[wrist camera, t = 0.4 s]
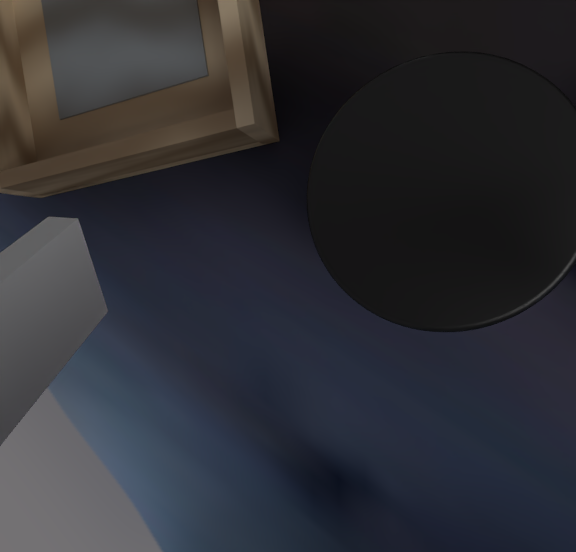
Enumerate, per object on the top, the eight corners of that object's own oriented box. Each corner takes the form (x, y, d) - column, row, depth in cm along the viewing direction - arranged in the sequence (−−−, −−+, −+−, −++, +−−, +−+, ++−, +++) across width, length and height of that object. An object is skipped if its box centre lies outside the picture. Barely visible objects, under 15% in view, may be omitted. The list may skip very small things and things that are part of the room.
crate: (279, 141, 27) (254, 123, 23) (40, 198, 32) (-12, 191, 28) (229, -202, 27) (195, -277, 23) (-4, -86, 32) (-63, -131, 28)
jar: (332, 181, 26) (256, 130, 15) (471, 106, 24) (510, -26, 12) (400, 324, 25) (376, 388, 14) (550, 261, 23) (669, 276, 12)
